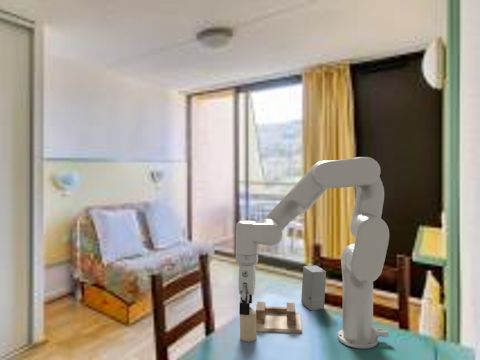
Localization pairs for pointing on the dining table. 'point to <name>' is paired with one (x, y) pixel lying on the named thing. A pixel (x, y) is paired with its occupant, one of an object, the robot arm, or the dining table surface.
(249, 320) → the candle
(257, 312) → the holder
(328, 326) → the dining table surface
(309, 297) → the skincare box
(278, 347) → the dining table surface
